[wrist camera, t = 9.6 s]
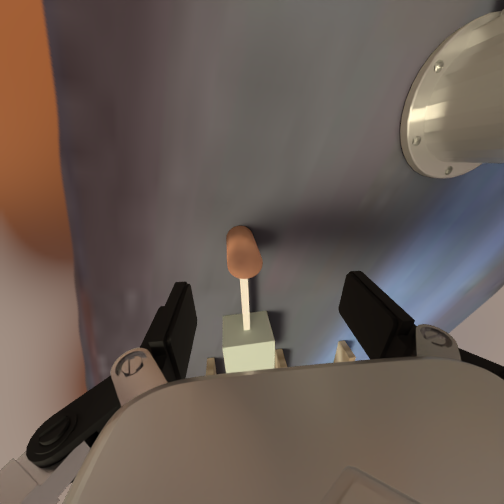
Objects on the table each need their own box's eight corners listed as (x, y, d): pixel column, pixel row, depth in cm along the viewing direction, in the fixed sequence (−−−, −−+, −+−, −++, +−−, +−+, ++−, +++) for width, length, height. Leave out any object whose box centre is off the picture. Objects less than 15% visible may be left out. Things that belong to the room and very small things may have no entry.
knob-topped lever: (211, 227, 21) (207, 251, 16) (266, 223, 22) (280, 244, 16) (226, 346, 29) (227, 389, 24) (266, 341, 30) (275, 381, 24)
